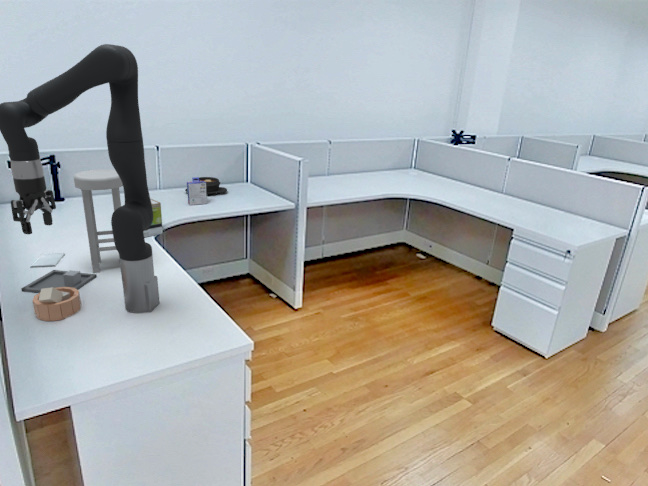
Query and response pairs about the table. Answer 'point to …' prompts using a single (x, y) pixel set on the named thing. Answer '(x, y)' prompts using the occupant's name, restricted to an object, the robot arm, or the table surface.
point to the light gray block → (72, 278)
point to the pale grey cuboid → (65, 296)
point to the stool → (86, 184)
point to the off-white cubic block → (50, 295)
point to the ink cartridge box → (196, 192)
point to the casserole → (212, 185)
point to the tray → (55, 281)
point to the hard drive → (48, 260)
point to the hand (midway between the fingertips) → (38, 229)
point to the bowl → (58, 306)
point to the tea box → (155, 220)
